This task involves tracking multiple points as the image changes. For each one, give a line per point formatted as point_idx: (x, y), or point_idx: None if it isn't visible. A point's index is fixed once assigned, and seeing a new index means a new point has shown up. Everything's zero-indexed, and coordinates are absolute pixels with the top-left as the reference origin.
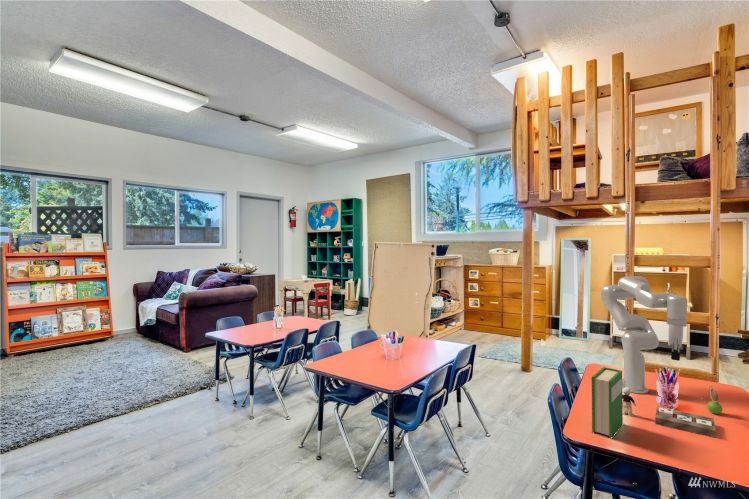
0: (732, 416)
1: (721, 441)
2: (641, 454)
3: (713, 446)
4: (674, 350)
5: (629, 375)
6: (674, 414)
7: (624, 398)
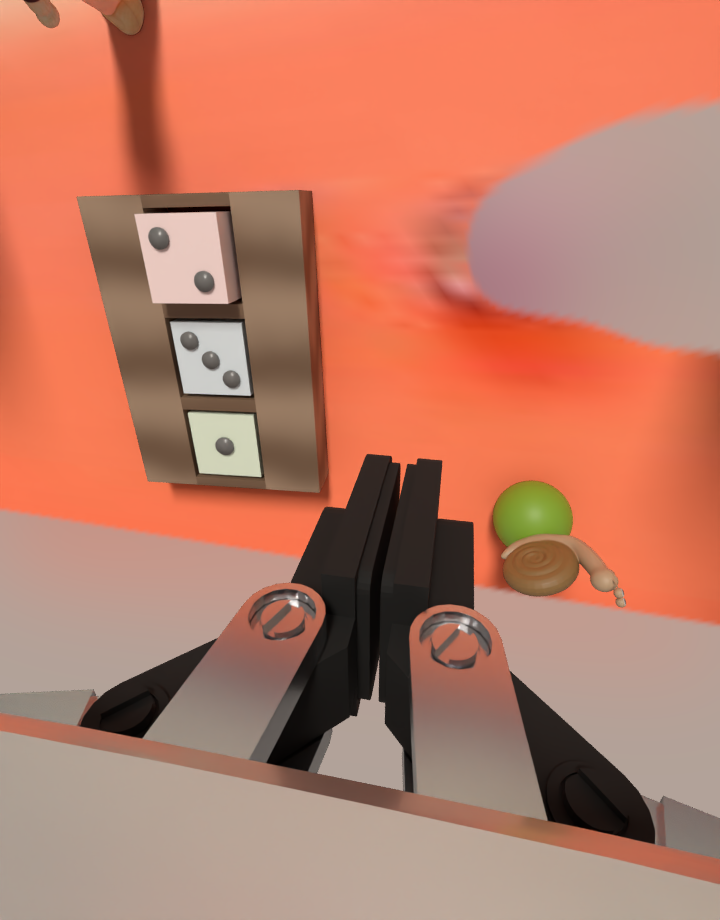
0: None
1: None
2: None
3: (66, 445)
4: (192, 671)
5: None
6: (224, 308)
7: None
